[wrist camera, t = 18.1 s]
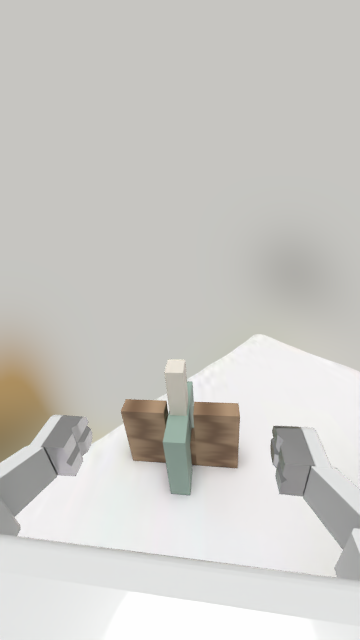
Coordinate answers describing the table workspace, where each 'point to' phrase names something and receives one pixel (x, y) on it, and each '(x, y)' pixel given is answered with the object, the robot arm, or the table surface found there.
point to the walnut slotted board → (206, 437)
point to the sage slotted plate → (178, 427)
